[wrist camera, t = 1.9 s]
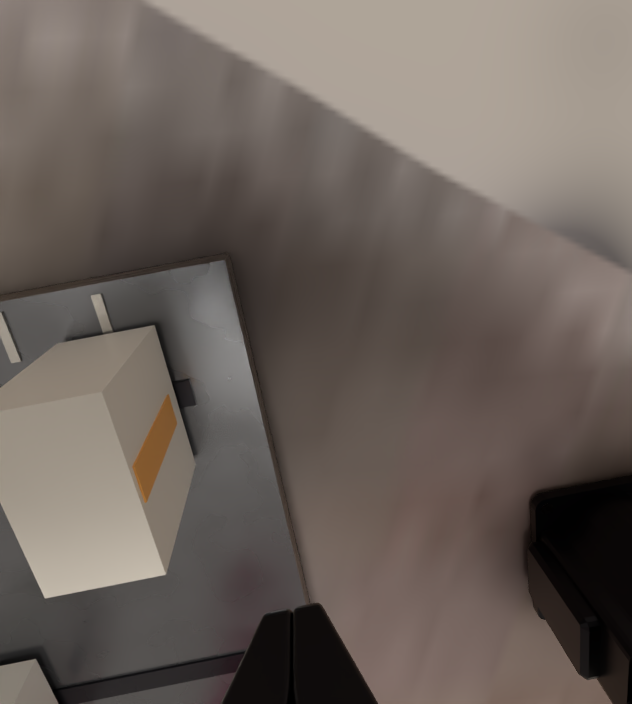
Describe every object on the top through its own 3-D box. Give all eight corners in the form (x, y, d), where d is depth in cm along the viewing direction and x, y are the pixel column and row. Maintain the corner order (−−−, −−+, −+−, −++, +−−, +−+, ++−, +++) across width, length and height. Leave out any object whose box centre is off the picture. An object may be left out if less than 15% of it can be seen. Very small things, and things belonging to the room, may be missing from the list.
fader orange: (156, 324, 15) (104, 391, 11) (197, 464, 17) (168, 574, 12) (55, 343, 15) (-42, 418, 11) (106, 481, 17) (42, 599, 12)
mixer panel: (226, 240, 16) (221, 247, 15) (325, 669, 23) (328, 703, 22) (-296, 337, 16) (-355, 354, 15) (-43, 742, 23) (-65, 782, 21)
